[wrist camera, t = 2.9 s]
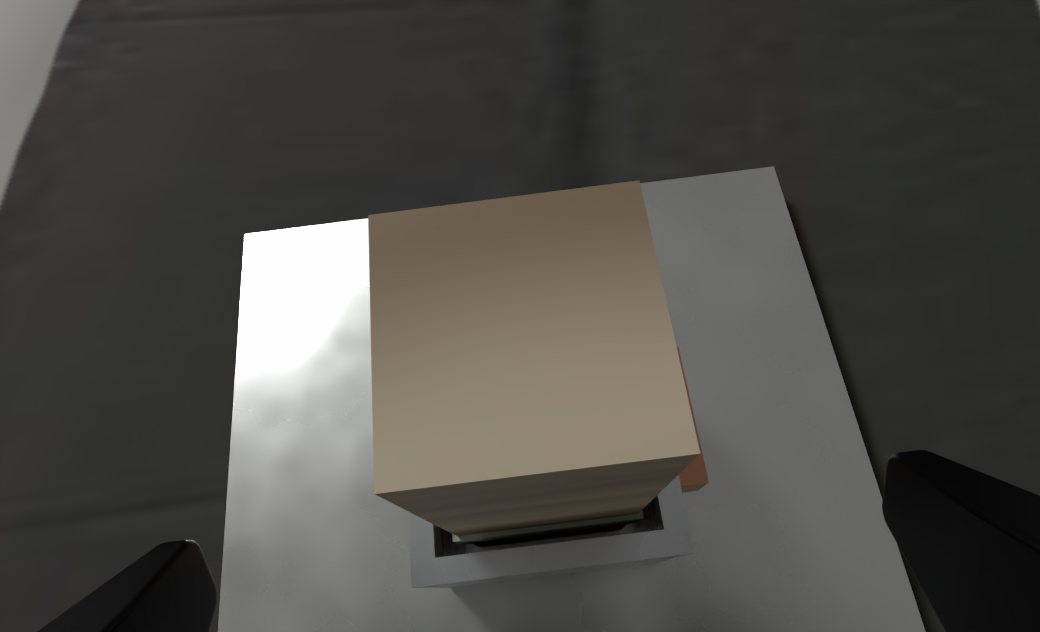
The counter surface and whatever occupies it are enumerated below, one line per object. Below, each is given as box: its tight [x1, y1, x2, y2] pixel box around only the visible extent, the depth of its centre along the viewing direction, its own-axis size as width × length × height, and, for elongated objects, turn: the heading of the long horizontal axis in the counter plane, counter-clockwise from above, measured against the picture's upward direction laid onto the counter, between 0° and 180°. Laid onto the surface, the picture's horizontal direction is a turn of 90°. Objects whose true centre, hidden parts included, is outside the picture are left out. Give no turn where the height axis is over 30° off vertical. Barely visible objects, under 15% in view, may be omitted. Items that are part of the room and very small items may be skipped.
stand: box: [218, 167, 926, 632], centre depth 16 cm, size 18×18×6 cm
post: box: [368, 181, 700, 547], centre depth 13 cm, size 4×4×10 cm
